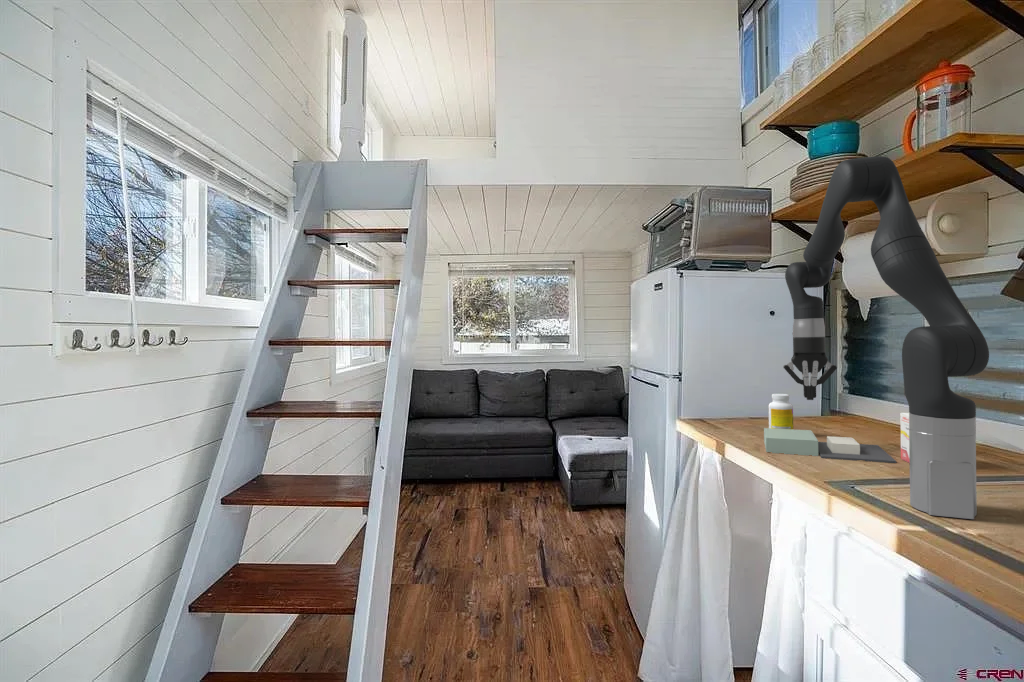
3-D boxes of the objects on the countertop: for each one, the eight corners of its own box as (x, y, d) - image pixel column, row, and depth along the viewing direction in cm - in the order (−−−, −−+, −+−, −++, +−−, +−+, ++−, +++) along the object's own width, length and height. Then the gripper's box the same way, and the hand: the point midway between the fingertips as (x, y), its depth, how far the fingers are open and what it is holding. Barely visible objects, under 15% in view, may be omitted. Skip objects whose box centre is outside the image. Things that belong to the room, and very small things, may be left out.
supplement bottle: (797, 439, 151) (796, 396, 151) (773, 438, 152) (772, 396, 152) (788, 434, 158) (787, 393, 157) (765, 434, 159) (765, 393, 158)
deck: (818, 456, 131) (818, 440, 131) (766, 452, 136) (766, 437, 136) (811, 444, 144) (811, 430, 144) (764, 441, 149) (763, 428, 149)
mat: (896, 463, 123) (896, 461, 123) (821, 458, 129) (821, 456, 129) (877, 446, 139) (877, 444, 139) (812, 443, 146) (812, 441, 145)
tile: (832, 443, 132) (832, 452, 132) (859, 444, 130) (860, 454, 130) (826, 436, 140) (826, 445, 140) (852, 437, 138) (852, 446, 138)
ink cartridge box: (899, 459, 126) (898, 400, 126) (921, 459, 125) (921, 400, 125) (919, 468, 118) (918, 405, 118) (943, 469, 117) (943, 405, 117)
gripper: (782, 336, 137) (783, 400, 137) (840, 335, 131) (841, 402, 131) (780, 336, 143) (781, 397, 144) (835, 334, 138) (836, 398, 138)
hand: (810, 399), depth 137 cm, fingers closed
